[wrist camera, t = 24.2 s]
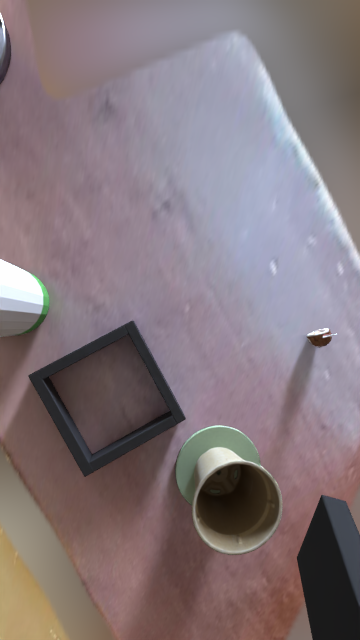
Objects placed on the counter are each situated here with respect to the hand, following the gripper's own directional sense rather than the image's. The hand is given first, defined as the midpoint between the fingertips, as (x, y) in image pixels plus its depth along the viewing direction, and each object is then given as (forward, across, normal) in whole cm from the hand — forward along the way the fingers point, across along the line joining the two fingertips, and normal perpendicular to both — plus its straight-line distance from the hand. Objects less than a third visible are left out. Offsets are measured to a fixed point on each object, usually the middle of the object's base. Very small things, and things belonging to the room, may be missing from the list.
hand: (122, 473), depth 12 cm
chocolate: (+35, +15, -3) cm, 39 cm away
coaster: (+27, +7, -20) cm, 35 cm away
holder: (+26, -8, -13) cm, 31 cm away
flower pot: (+27, +7, -20) cm, 34 cm away
